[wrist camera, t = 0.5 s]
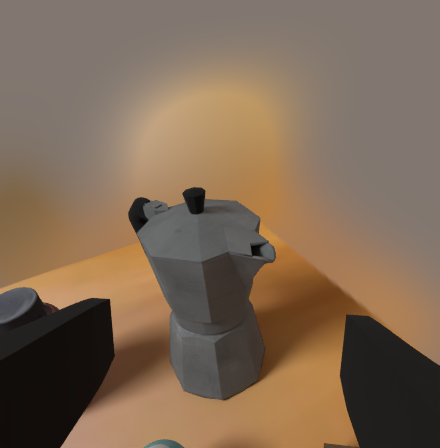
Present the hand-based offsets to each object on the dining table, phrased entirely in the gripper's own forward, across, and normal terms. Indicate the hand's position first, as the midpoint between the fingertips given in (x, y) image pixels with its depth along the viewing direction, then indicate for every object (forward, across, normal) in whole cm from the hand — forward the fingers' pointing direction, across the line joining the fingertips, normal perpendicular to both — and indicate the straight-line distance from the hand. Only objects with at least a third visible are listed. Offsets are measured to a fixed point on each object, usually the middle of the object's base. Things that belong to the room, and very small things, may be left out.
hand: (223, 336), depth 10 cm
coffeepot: (+20, +4, +15) cm, 26 cm away
